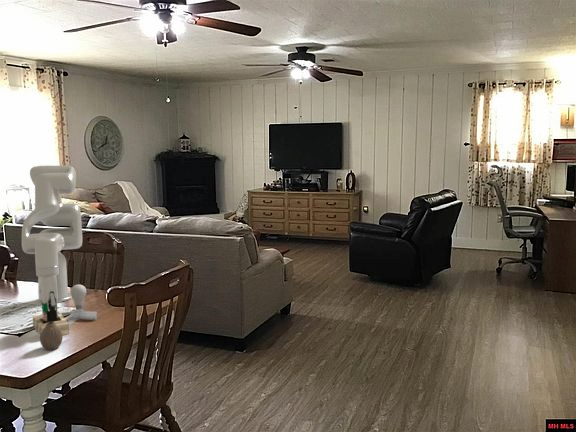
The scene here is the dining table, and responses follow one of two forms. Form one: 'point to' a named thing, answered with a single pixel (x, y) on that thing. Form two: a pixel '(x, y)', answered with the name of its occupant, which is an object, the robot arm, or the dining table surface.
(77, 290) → the lightbulb
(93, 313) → the grey angled tube
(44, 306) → the soda can
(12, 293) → the dining table surface
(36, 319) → the bore beam
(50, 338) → the brown egg-shaped piece
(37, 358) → the dining table surface
